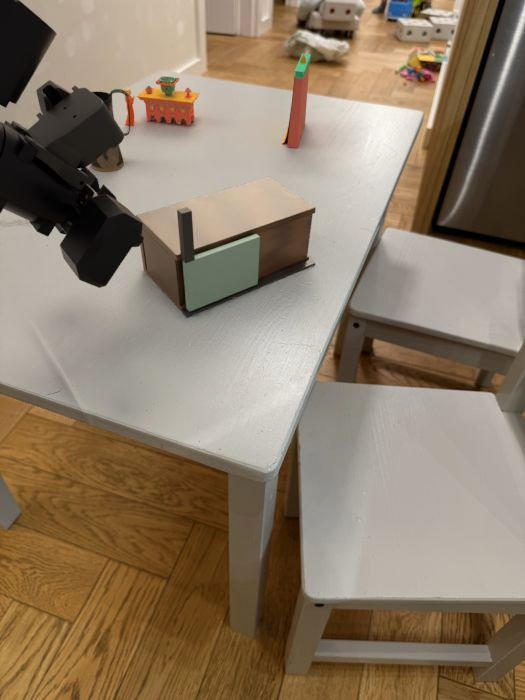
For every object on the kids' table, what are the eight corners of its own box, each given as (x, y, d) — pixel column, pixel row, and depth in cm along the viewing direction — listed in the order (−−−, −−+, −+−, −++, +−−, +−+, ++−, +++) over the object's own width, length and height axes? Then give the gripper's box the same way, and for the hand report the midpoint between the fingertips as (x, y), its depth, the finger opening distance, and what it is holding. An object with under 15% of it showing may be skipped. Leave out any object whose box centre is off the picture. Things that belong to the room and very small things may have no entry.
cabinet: (186, 317, 59) (182, 261, 53) (143, 270, 65) (135, 215, 60) (315, 264, 68) (322, 211, 62) (266, 227, 74) (269, 176, 68)
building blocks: (297, 148, 95) (305, 65, 85) (122, 127, 98) (109, 45, 88) (305, 123, 104) (312, 46, 94) (143, 105, 107) (134, 29, 97)
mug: (88, 171, 84) (72, 96, 76) (92, 157, 88) (77, 84, 80) (136, 171, 85) (125, 96, 77) (138, 157, 89) (128, 84, 80)
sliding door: (189, 312, 59) (181, 214, 50) (185, 308, 59) (176, 209, 50) (258, 284, 63) (263, 189, 54) (253, 280, 64) (257, 185, 55)
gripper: (91, 100, 30) (241, 214, 43) (0, 28, 40) (142, 138, 53) (-1, 251, 32) (167, 317, 45) (-66, 146, 42) (86, 224, 55)
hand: (140, 240), depth 49 cm, fingers closed
